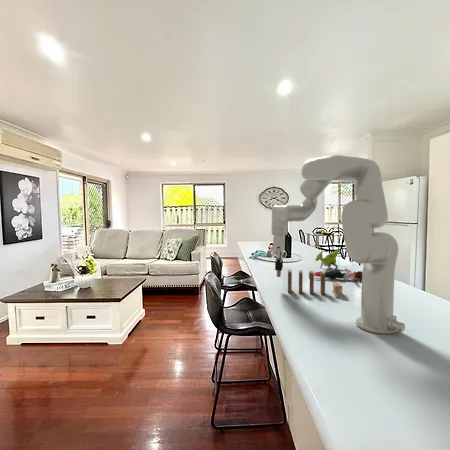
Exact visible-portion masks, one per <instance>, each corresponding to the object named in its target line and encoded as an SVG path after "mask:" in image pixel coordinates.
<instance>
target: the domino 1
mask: <svg viewBox="0 0 450 450" xmlns="http://www.w3.org/2000/svg"><path fill="white" fill-rule="evenodd" d="M280 258H281V257H280ZM281 276H282V271H279V270H276V277H277V278H281Z"/></svg>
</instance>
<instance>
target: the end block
mask: <svg viewBox="0 0 450 450" xmlns="http://www.w3.org/2000/svg"><path fill="white" fill-rule="evenodd" d="M332 293H333V295H334V297H335V298H343V285H342V283H341V282H340V281H333V282H332Z"/></svg>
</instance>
